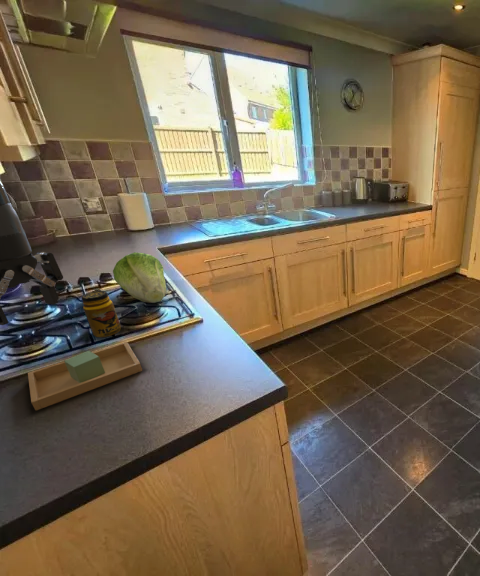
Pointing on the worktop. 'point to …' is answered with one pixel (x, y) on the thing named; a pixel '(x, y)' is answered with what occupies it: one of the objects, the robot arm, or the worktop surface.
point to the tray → (60, 385)
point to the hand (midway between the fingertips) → (28, 313)
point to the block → (84, 366)
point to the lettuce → (141, 277)
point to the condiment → (101, 314)
